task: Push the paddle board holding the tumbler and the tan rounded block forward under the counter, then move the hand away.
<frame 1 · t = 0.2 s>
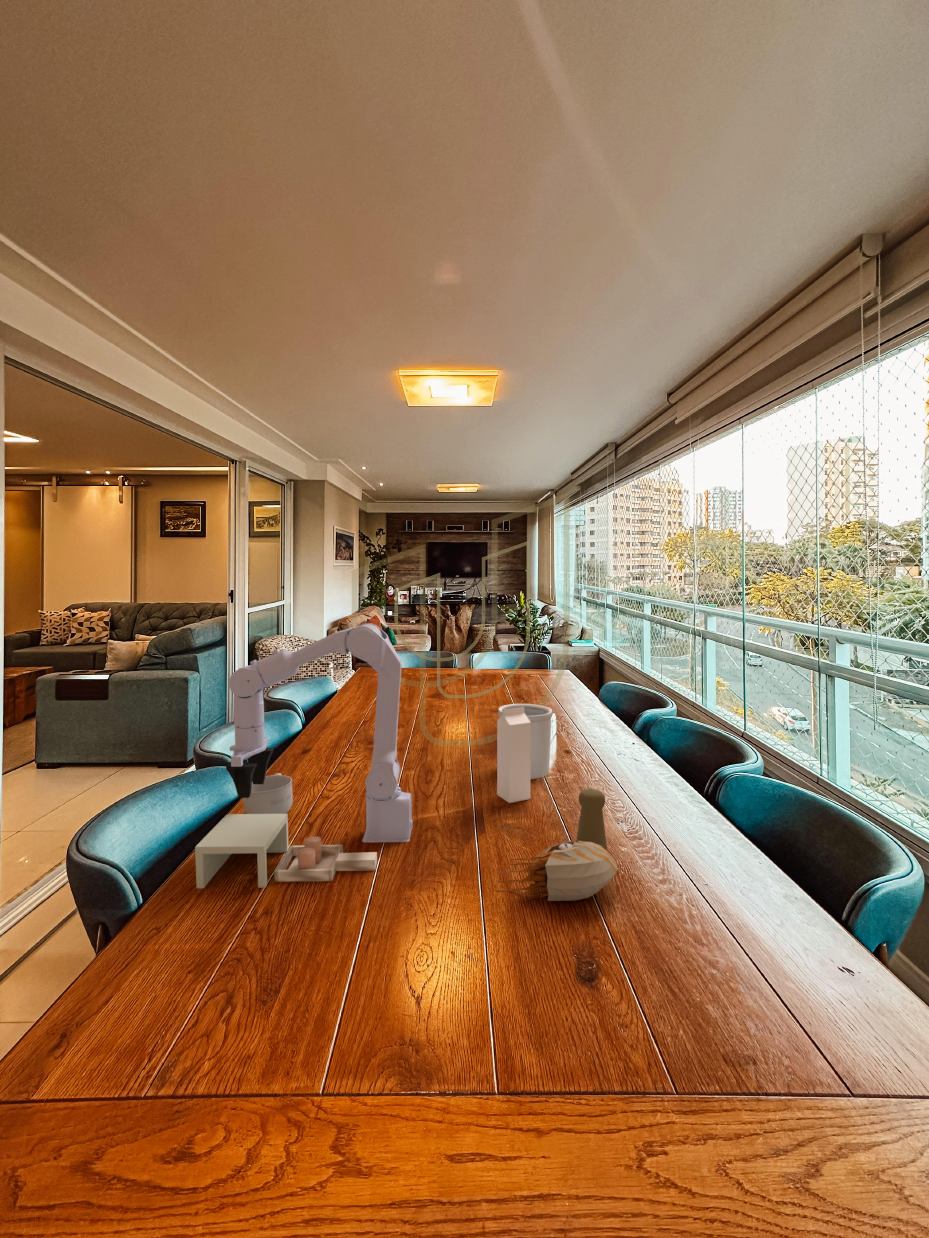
hand: (251, 790, 120), 10 cm above the table, fingers open, 7 cm apart
paddle board: (310, 870, 108), on the table, touching tumbler a, tan rounded block b
tumbler a: (313, 860, 110), resting on paddle board
teacup: (271, 814, 133), on the table
nautilus: (555, 891, 100), on the table
tan rounded block b: (307, 873, 105), resting on paddle board
cork: (591, 845, 117), on the table
counter: (245, 870, 107), on the table
utensil holder: (524, 772, 162), on the table
milk: (513, 797, 143), on the table
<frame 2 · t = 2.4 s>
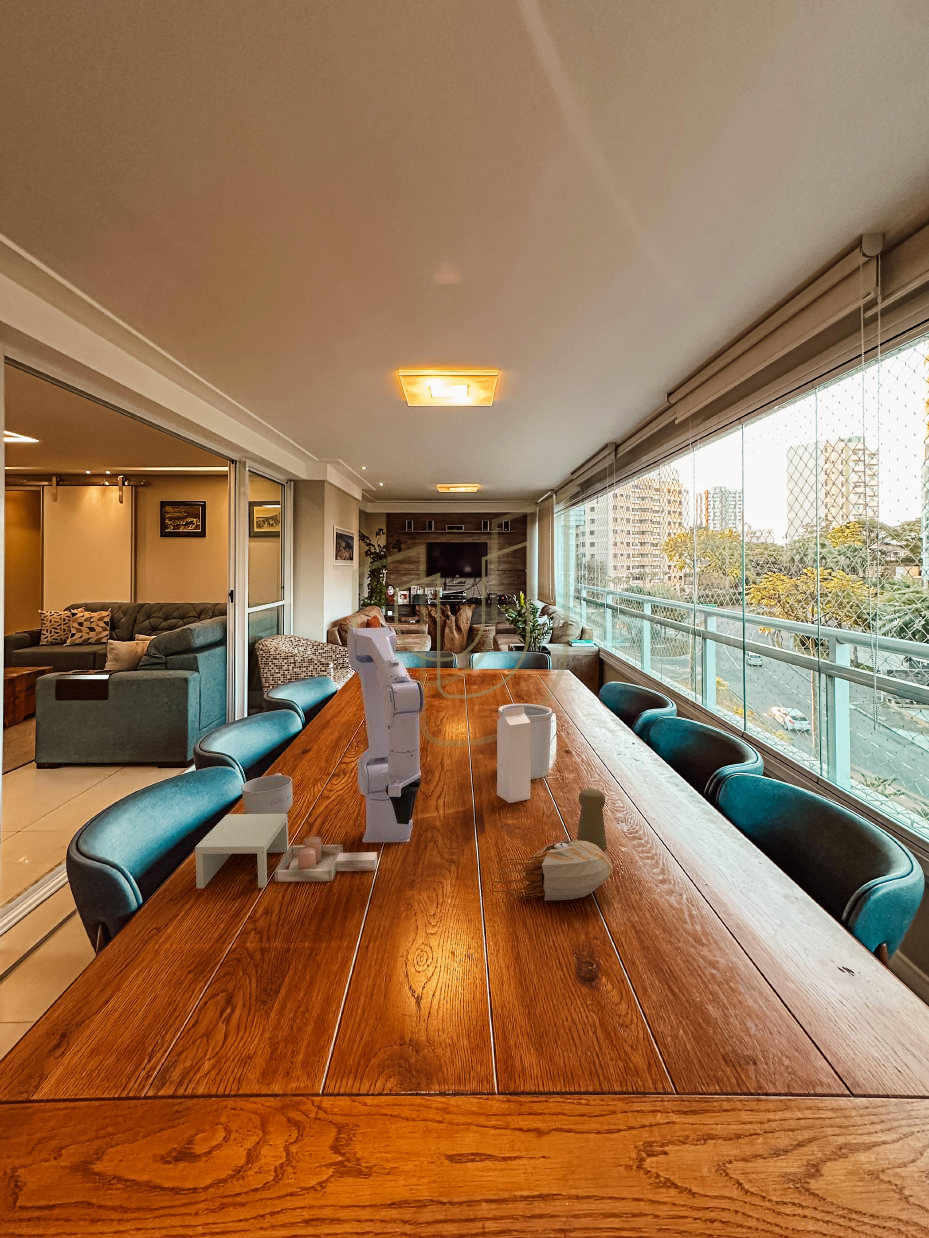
hand: (404, 821, 107), 9 cm above the table, fingers closed
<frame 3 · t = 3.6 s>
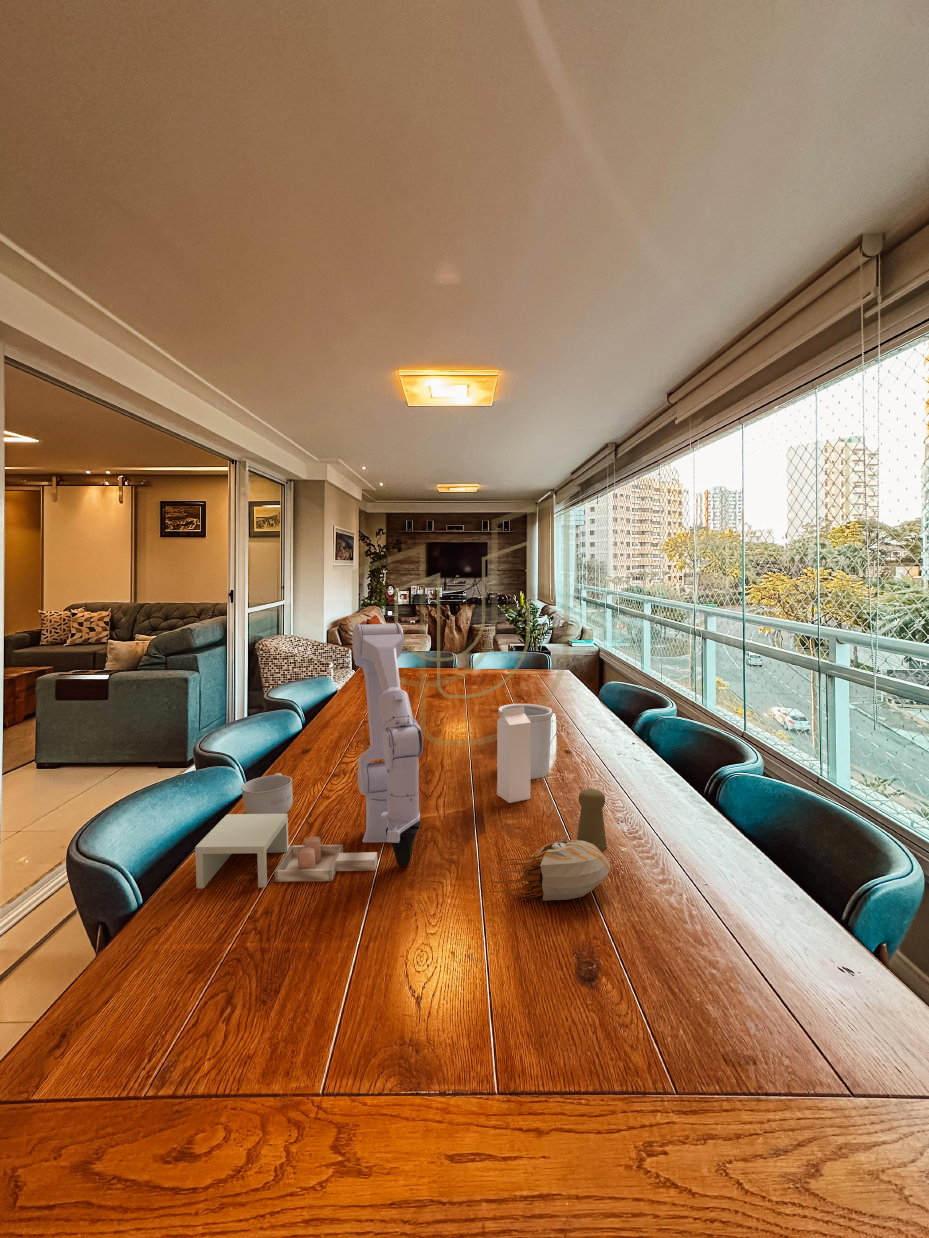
hand: (403, 863, 108), 1 cm above the table, fingers closed
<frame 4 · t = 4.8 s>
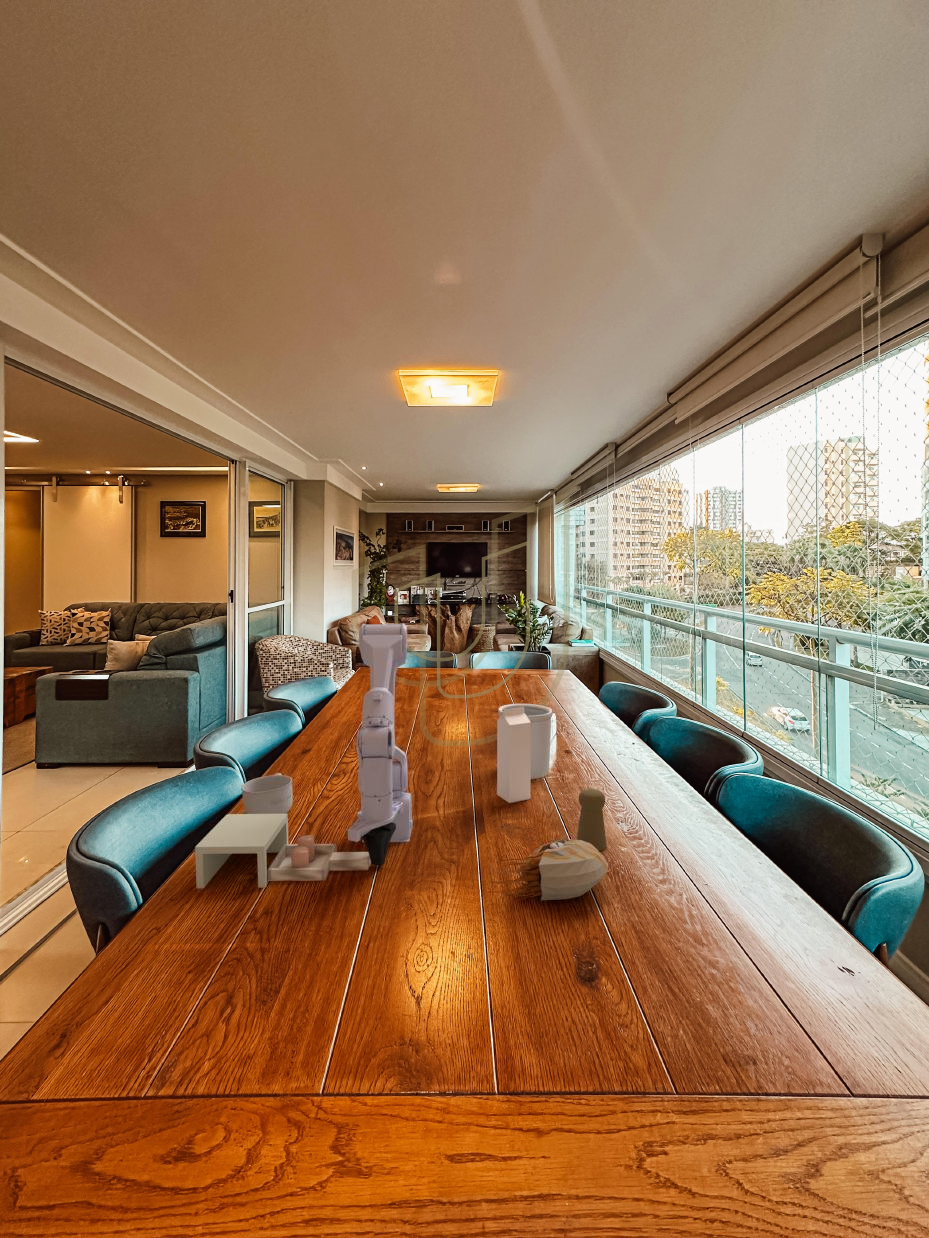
hand: (377, 863, 108), 1 cm above the table, fingers closed
paddle board: (304, 868, 108), on the table, touching gripper, tan rounded block b
tumbler a: (306, 859, 110), point 1 cm above the table
tan rounded block b: (300, 871, 105), point 1 cm above the table, touching paddle board
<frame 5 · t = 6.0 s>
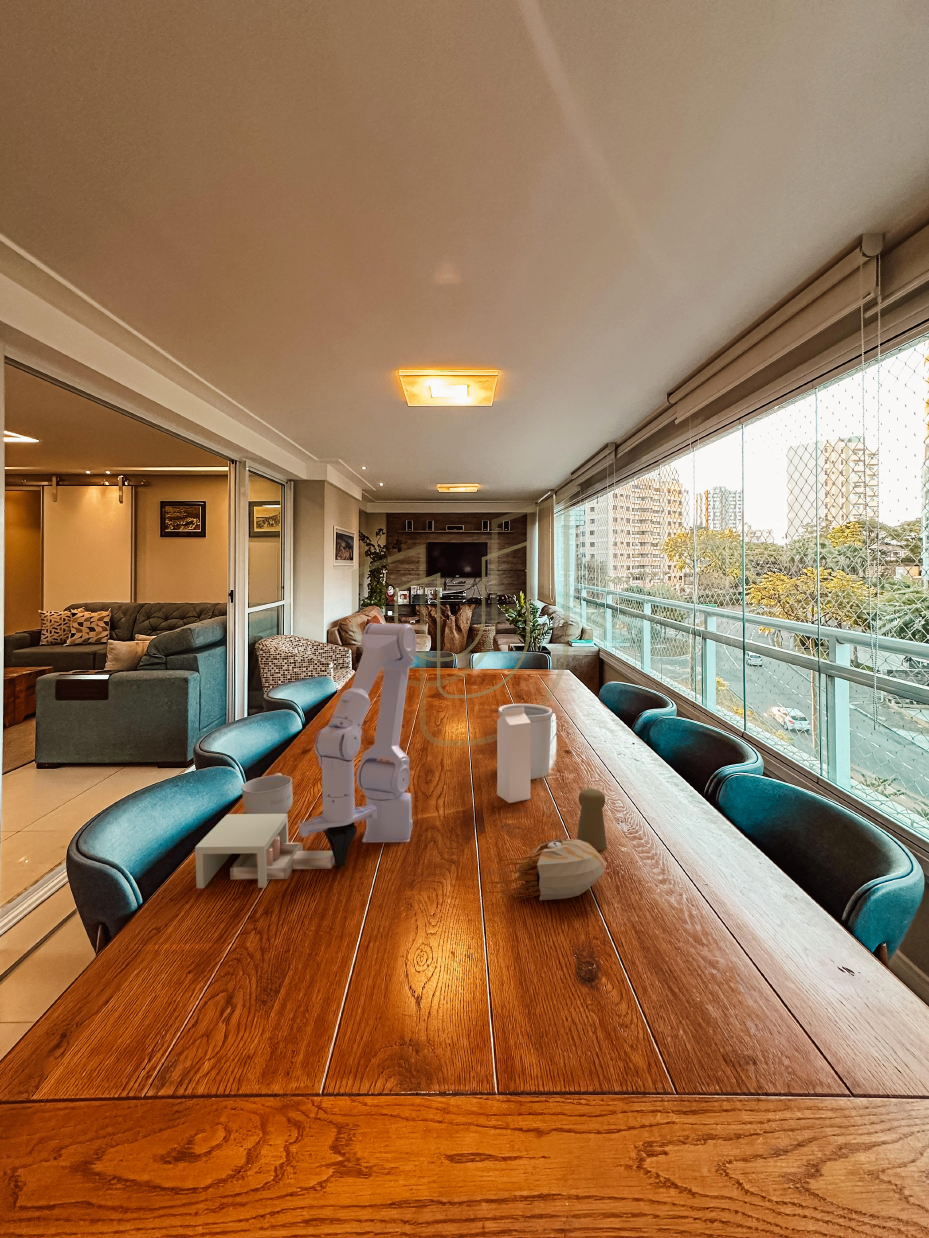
hand: (339, 864, 108), 1 cm above the table, fingers closed
paddle board: (268, 867, 108), on the table, touching gripper, tumbler a, tan rounded block b
tumbler a: (271, 857, 111), point 1 cm above the table, touching paddle board
tan rounded block b: (264, 870, 106), point 1 cm above the table, touching paddle board
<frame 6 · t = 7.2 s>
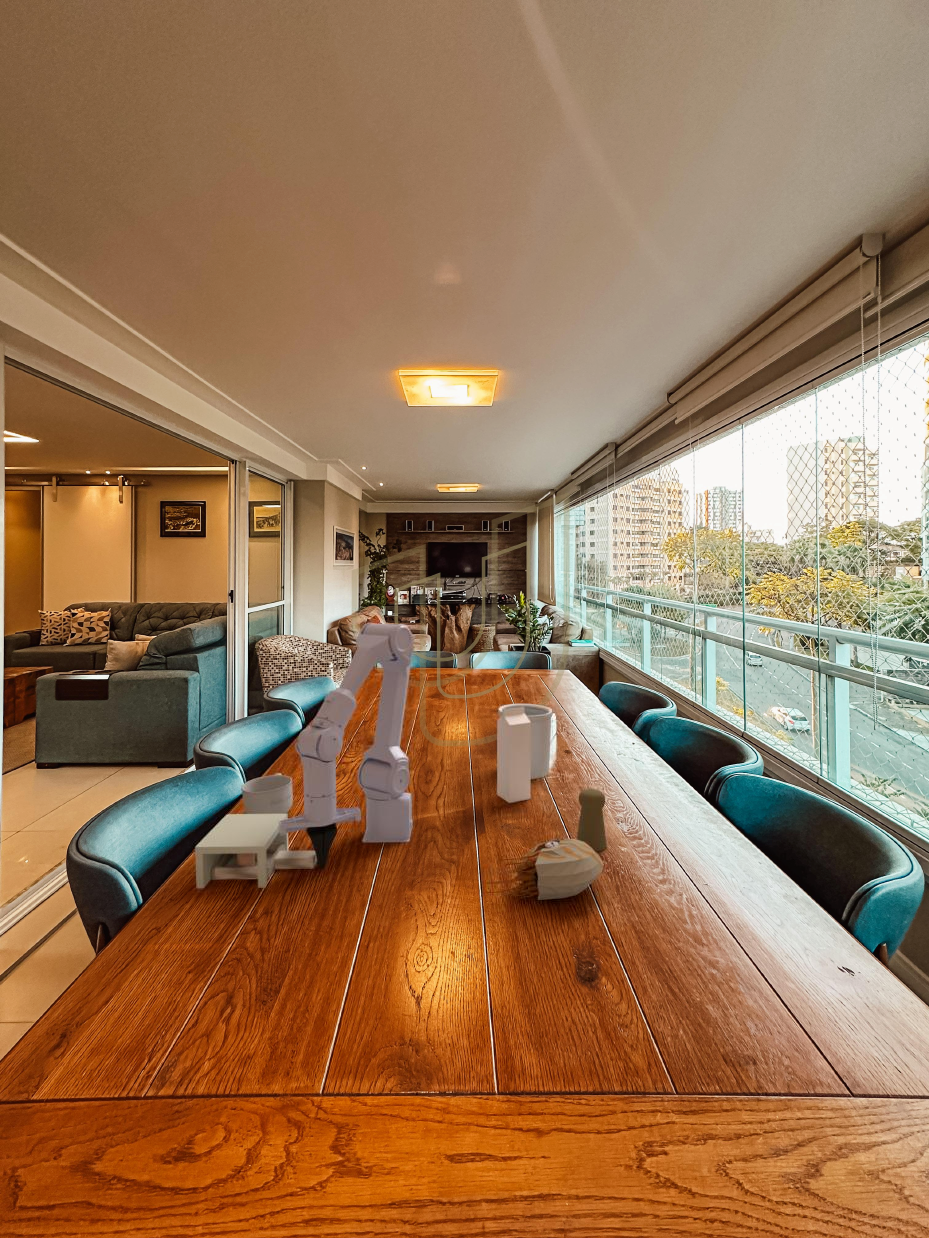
hand: (321, 864, 108), 1 cm above the table, fingers closed
paddle board: (250, 867, 108), on the table, touching gripper, tumbler a, tan rounded block b
tumbler a: (254, 858, 111), point 1 cm above the table, touching paddle board
tan rounded block b: (246, 870, 106), point 1 cm above the table, touching paddle board
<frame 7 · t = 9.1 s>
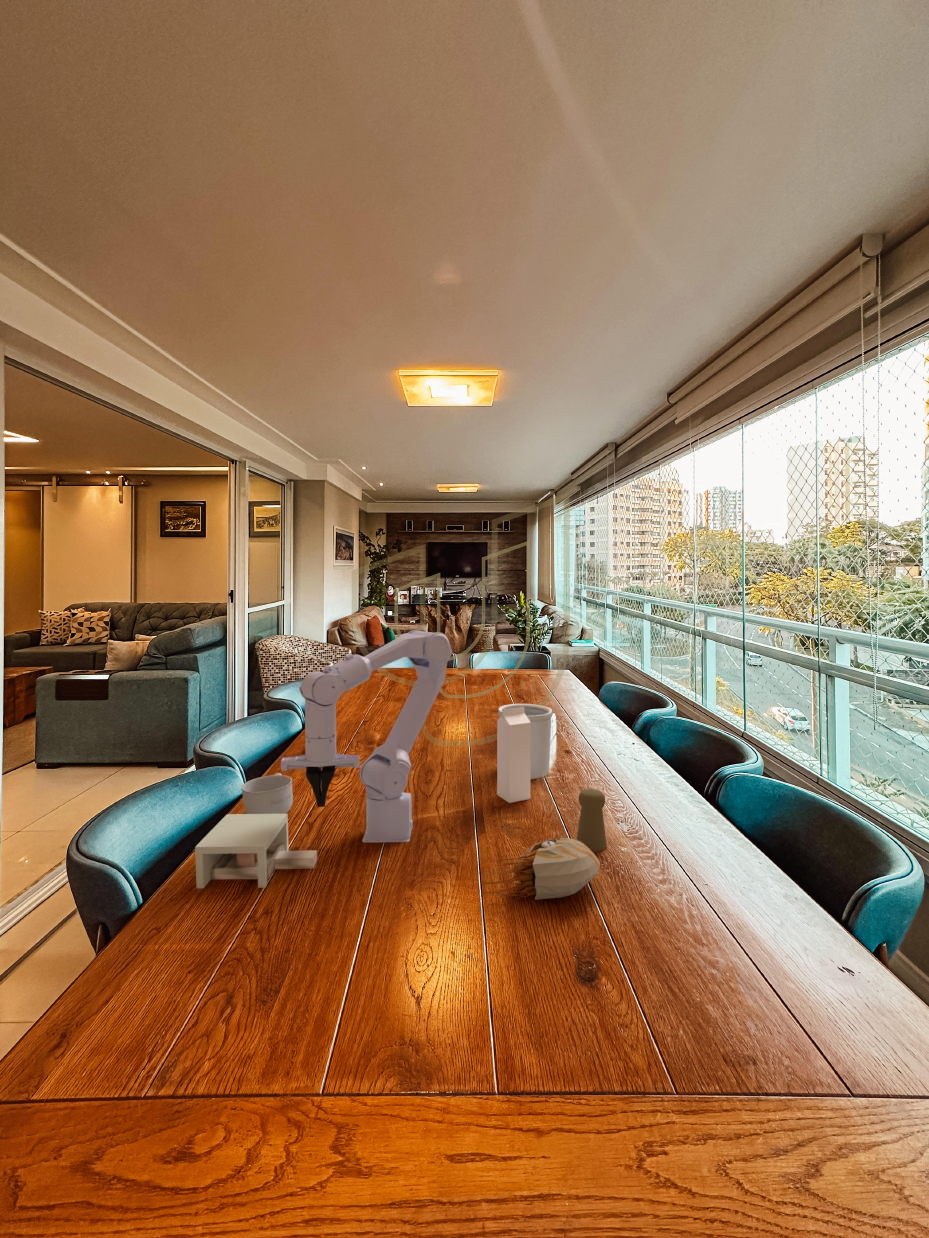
hand: (321, 804, 113), 10 cm above the table, fingers closed
paddle board: (250, 868, 108), on the table, touching tumbler a, tan rounded block b
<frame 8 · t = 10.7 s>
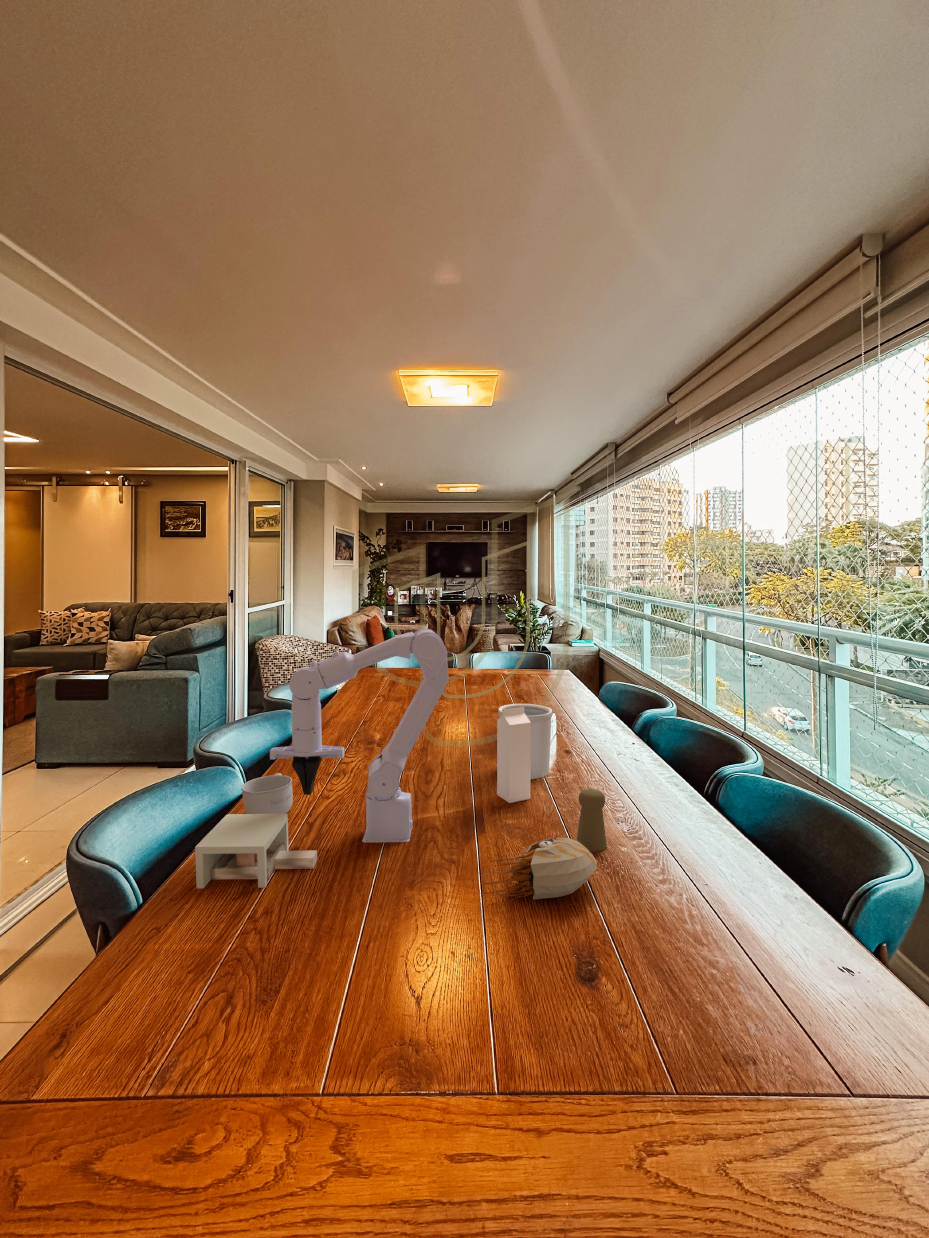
hand: (308, 793, 119), 10 cm above the table, fingers closed
at the end: paddle board 1.1 cm from the target spot on the counter, point 0.0 cm above the counter's base; tumbler a tilted 3°; tan rounded block b tilted 2° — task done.
